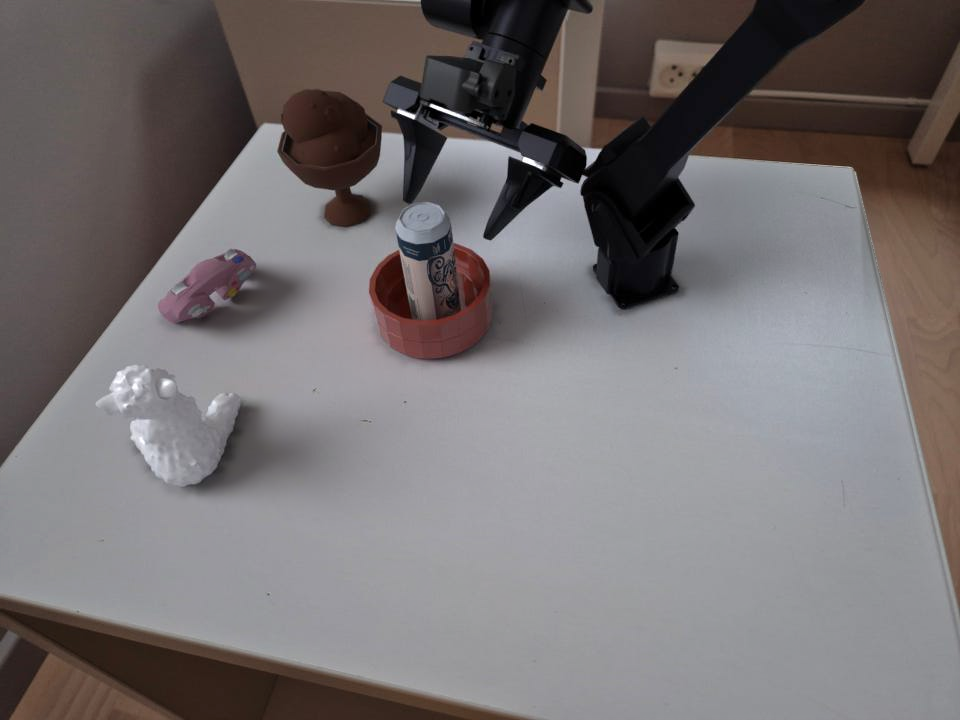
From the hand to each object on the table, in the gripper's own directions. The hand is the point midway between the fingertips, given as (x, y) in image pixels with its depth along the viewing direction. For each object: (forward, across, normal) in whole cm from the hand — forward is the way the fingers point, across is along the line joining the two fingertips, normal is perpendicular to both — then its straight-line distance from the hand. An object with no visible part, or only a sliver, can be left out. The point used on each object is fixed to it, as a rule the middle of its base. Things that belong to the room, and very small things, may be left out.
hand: (445, 220), depth 67 cm
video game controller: (+17, -20, -3) cm, 27 cm away
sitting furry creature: (+26, -7, -12) cm, 30 cm away
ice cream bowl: (+4, -19, +10) cm, 22 cm away
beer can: (+9, 0, +5) cm, 10 cm away
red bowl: (+9, 0, +5) cm, 10 cm away
